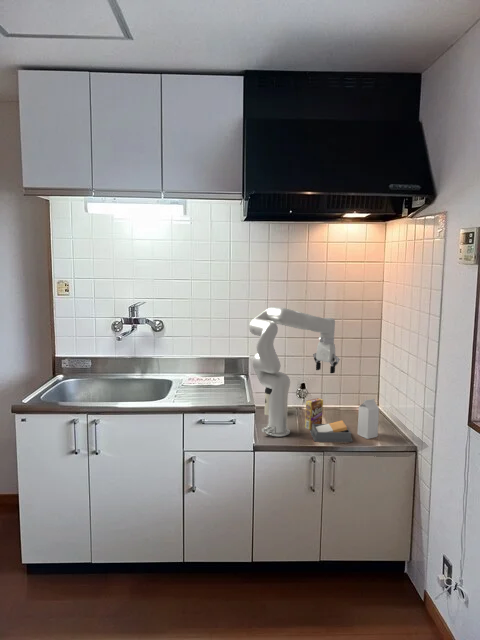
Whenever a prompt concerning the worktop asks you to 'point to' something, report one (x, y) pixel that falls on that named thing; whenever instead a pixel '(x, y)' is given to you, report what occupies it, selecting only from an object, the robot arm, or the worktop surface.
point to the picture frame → (332, 427)
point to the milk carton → (368, 419)
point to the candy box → (313, 412)
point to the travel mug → (267, 400)
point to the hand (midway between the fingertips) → (325, 371)
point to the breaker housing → (330, 435)
